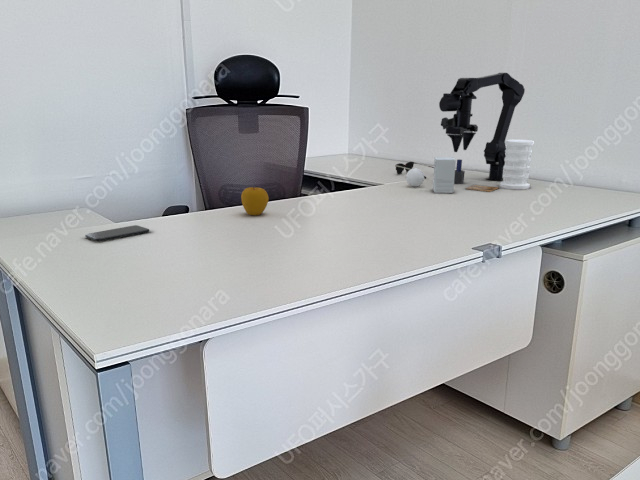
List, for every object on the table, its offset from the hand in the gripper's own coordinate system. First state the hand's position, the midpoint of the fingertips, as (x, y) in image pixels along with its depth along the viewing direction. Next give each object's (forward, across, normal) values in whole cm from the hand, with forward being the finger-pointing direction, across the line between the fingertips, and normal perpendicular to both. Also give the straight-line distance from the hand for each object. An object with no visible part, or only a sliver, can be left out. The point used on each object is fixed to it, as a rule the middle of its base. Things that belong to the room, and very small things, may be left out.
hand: (460, 151), depth 242 cm
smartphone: (+13, +138, -40) cm, 144 cm away
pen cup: (+13, 0, 0) cm, 13 cm away
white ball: (+13, +18, -12) cm, 25 cm away
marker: (+12, 0, 0) cm, 12 cm away
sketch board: (+13, +7, +14) cm, 20 cm away
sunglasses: (+13, -8, -22) cm, 27 cm away
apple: (+13, +95, -27) cm, 100 cm away
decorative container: (+13, -5, +22) cm, 26 cm away
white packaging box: (+13, +22, +4) cm, 26 cm away
